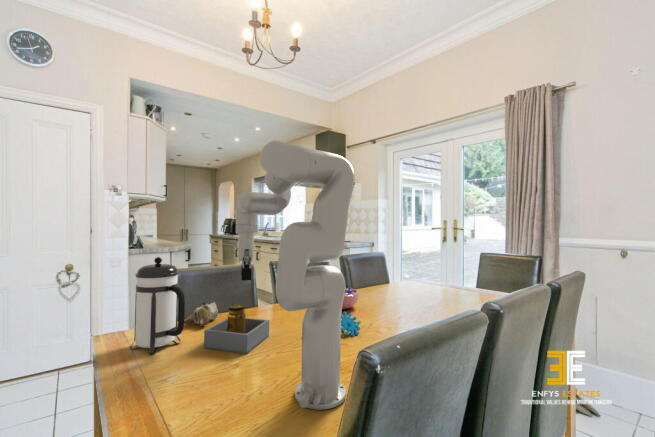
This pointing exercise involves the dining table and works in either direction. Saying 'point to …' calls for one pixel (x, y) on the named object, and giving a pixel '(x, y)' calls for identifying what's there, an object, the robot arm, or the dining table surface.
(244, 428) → the dining table surface
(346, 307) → the cell model
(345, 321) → the blue gear toy
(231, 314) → the condiment
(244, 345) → the bin
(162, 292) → the coffee press
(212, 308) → the ceramic sculpture
